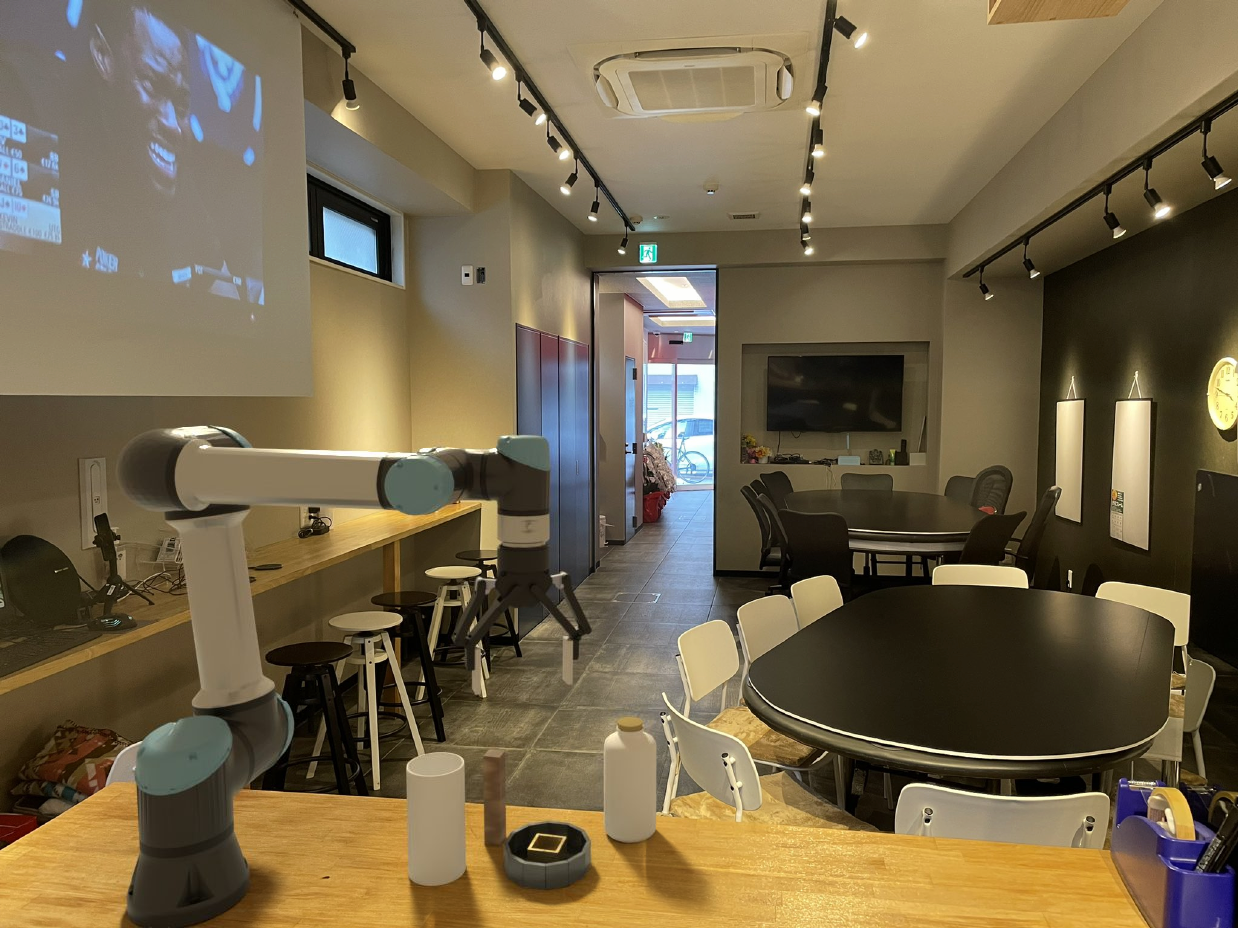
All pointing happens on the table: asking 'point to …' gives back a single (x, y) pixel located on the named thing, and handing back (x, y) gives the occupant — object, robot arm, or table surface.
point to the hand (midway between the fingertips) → (522, 686)
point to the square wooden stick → (494, 797)
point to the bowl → (547, 855)
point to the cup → (436, 818)
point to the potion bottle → (630, 782)
